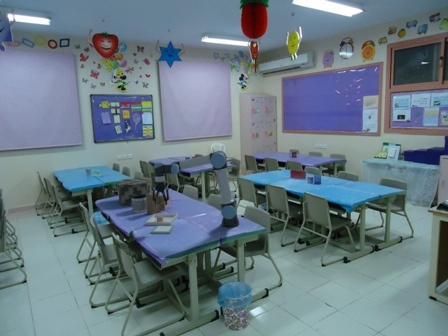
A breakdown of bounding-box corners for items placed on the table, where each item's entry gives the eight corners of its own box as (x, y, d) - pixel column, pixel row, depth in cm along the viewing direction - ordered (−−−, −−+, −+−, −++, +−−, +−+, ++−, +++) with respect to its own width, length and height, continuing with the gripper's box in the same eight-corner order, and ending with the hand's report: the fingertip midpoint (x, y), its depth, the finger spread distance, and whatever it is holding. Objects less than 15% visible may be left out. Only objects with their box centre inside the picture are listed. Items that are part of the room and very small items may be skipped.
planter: (140, 213, 319) (139, 199, 317) (129, 211, 327) (127, 197, 325) (151, 209, 333) (150, 195, 330) (140, 207, 341) (139, 194, 338)
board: (174, 226, 278) (174, 225, 277) (169, 233, 262) (169, 232, 262) (156, 226, 279) (156, 225, 279) (150, 233, 264) (150, 232, 263)
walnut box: (166, 208, 270) (165, 194, 268) (164, 210, 265) (163, 196, 263) (159, 208, 271) (158, 194, 269) (157, 210, 265) (156, 196, 263)
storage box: (123, 198, 382) (121, 179, 379) (153, 196, 386) (152, 177, 382) (117, 206, 348) (115, 185, 344) (150, 204, 352) (149, 183, 348)
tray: (178, 217, 304) (177, 213, 303) (171, 226, 280) (170, 222, 279) (154, 217, 306) (154, 213, 306) (145, 226, 282) (145, 222, 282)
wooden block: (161, 212, 319) (159, 193, 316) (152, 215, 312) (151, 195, 309) (155, 211, 326) (153, 191, 323) (146, 213, 319) (145, 193, 316)
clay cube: (163, 222, 289) (163, 215, 288) (162, 223, 284) (162, 217, 283) (157, 222, 289) (157, 215, 288) (157, 224, 284) (156, 217, 283)
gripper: (172, 180, 267) (174, 207, 270) (149, 180, 269) (151, 207, 272) (170, 182, 259) (171, 210, 263) (146, 182, 261) (148, 210, 265)
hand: (161, 208), depth 268 cm, fingers closed on walnut box, 6 cm apart
